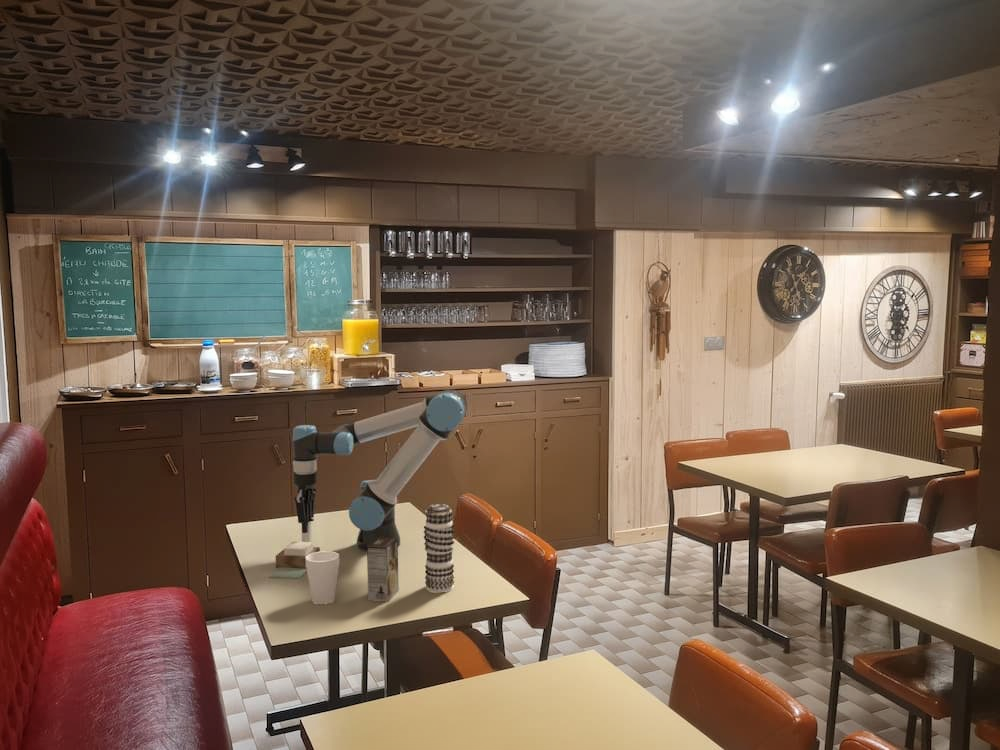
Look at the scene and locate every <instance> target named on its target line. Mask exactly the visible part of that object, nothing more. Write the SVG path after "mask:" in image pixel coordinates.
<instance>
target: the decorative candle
mask: <svg viewBox="0 0 1000 750" xmlns="http://www.w3.org/2000/svg"><path fill="white" fill-rule="evenodd" d="M424 512H425V513H426V515H425V517H426V520H425V525H424V526H423V529H424V531H423V533H424V536H423V539H424V541H425V542H424V544H423V545H424V551H425V553H426V559H425V562H426V564H425V565H424V566H425V571H424V572H425V577H424V579H425V582H424V583H425V585H426V586H425V590H426V589H427V590H428V591H427V590H426V591H427V592H429V591H431V592H430V593H433V592H437V593H436V594H441V593H440V592H445V593H447V592H446V591H449V592H450V590H451V589H453V590H454V588H455V586H454V583H455V581H454V579H455V576H454V572H455V570H454V566H455V565H454V563H453V562H454V561H453V552H454V547H453V545H454V544H455V541H454V539H455V536H454V535H453V533H454V532H455V531H456V530H455V528H454V527H455V526H456V524H454V523H453V513H452V512H453V510H452V508H450V506H449V505H447V504H445V503H434V504H431V505H428V507H427V509H426V510H424ZM453 587H454V588H453ZM451 591H452V590H451ZM438 592H439V593H438Z"/></svg>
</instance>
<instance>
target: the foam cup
mask: <svg viewBox="0 0 1000 750" xmlns="http://www.w3.org/2000/svg"><path fill="white" fill-rule="evenodd" d="M339 565H340V554H339V553H338V552H335V551H330V550H325V551H322V550H320V552H314V553H311V554H309V555H307V556H306V567H307V573H306V574H307V578H308V584H309V589H310V590H309V591H310V595H311V597H310V598H311V602H313V603H312V604H314V603H316V604H315V605H317V604H325V605H327V604H326V603H330V604H332V603H334V600H335V599H336V593H337V581H338V573H339ZM331 602H332V603H331Z"/></svg>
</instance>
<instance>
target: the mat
mask: <svg viewBox="0 0 1000 750" xmlns="http://www.w3.org/2000/svg"><path fill="white" fill-rule="evenodd" d="M306 572H307V569H305V568H284V567H280V568H276V570H275V571H274V572H272V573H271V574H270V575H268V578H269V579H271V578H270V577H273V578H272V579H287V578H300V579H301V578H303V577H304V576H305V575H306V574H307V573H306ZM305 573H306V574H305ZM304 574H305V575H304ZM303 575H304V576H303Z"/></svg>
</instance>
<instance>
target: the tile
mask: <svg viewBox="0 0 1000 750" xmlns="http://www.w3.org/2000/svg"><path fill="white" fill-rule="evenodd" d="M313 547H314V542H311V541H310V542H302V541H291V542H290V543H289V544H288V545H286V546H285V547H284V548H283V550H284V555H293V556H306V555H307V554H308V553H309V552H310V551H312V550H313Z"/></svg>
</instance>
